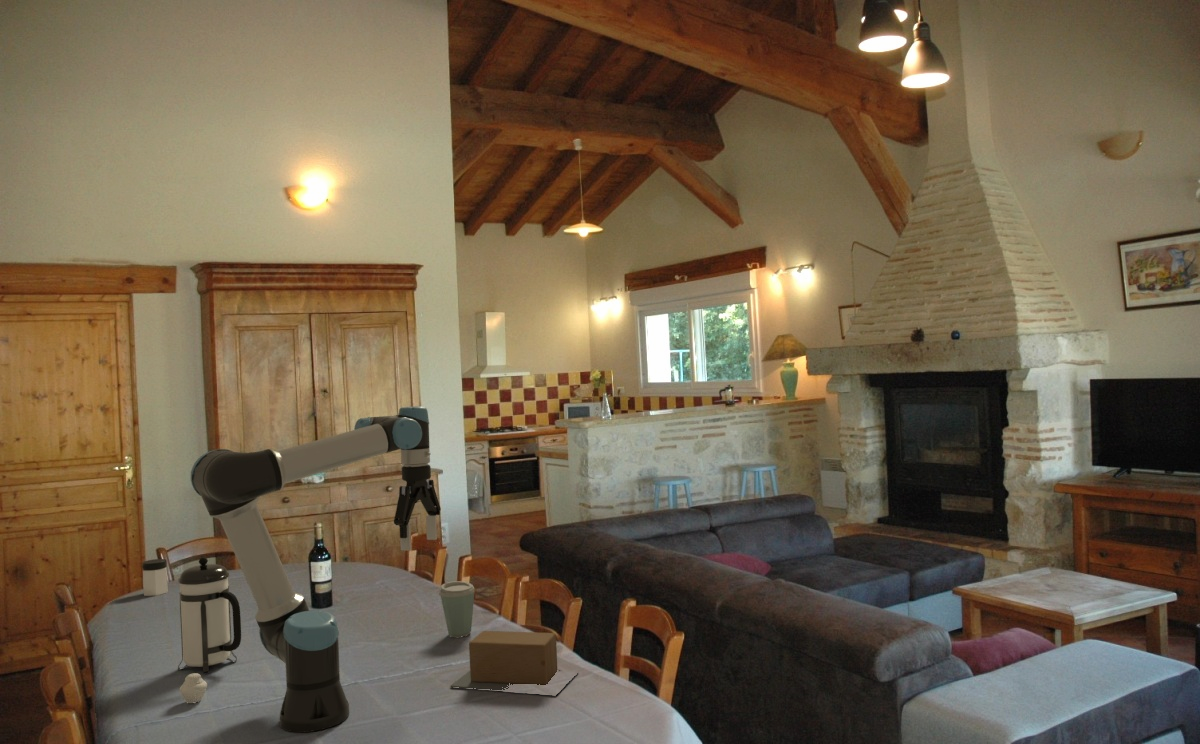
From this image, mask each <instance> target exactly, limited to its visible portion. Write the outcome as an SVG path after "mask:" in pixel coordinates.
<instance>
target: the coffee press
mask: <svg viewBox="0 0 1200 744" xmlns="http://www.w3.org/2000/svg"><path fill="white" fill-rule="evenodd" d="M208 562H209V560H208V558H207V557H204V556H202V557H200V558H199V560H198V564H199V565H196V566H192V567H188V568H186V569H184V570H183V571H182V572H181V574H180V576H179V577H178V580H177V581H178V584H179V588H180V589H179V612H180V614H179V615H180V616H179V617H180V632H181V633H180V636H181V637H180V638H181V639H180V640H181V656H182V657H181V661H180V662H179V664H178V666H177V669H178V670H179V669H180V668H181V667H180V665H181V664H182V663H185V665H184V666H182V668H183V670H184V669H186V667H188V666H189V667H192V668H193V667H195V668H197V667H198V668H201V667H202V674H203V673H206V674H209V673H208V671H209V670H210V666H214V665H218V664H220V663H222V662H225V661H229V662H231V663H232V662H233V661H235V663H236V662H237V660H238V657H237V656H236V655H235V653H234V652H233V651H234V650H237V649H238V648H239V647H240V645H241V641H242V619H241V608H240V602H239V600H238V598H237V597H236V595H235V594H234V593H232V592H231V591H230V585H229V577H230V572H229V571H228V569H227V568H226V567H225V566H223V565H222V564H215V563H211V564H208ZM231 609H232V618H231ZM231 619H232V620H231ZM232 626H233V627H232ZM232 629H233V640H232V637H231V636H232ZM231 655H232V656H233V657H234V658H235V660H232V659H231V658H230V656H231ZM209 672H210V671H209Z"/></svg>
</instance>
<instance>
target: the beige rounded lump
mask: <svg viewBox="0 0 1200 744" xmlns="http://www.w3.org/2000/svg"><path fill="white" fill-rule="evenodd" d="M184 678H185V679H184V681H183V683H182V685H181V686H180V688H179V692H180V694H181V696H182V698H183V699H184V701H185V702H186V703H187V702H188V703H193V702H197V701H200V700H201V701H202V700H203V698H204V697H205V693H206V691H207V688H208V683H207V682H206V681H205V680H204V679H203V678H202V675H201V674H200V673H195V672H194V673H193V672H192V673H190V674H187V676H186V677H184ZM201 701H200V702H201ZM188 703H187V704H188Z"/></svg>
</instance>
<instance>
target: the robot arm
mask: <svg viewBox="0 0 1200 744" xmlns="http://www.w3.org/2000/svg"><path fill="white" fill-rule="evenodd" d="M429 421H430V420H429V411H428V408H427V407H425V406H423V405H422V406H421V405H417V406H404V407H400V408H399V410H398V414H395V415H390V416H389V415H386V416H385V415H384V416H368V417H362V418H359V419H357V420H356V422H355V424H354V429H352V430H348V431H345V432H342V433H338V434H335V435H330V436H328V437H324V438H320V439H317V440H313V441H310V442H309V441H308V442H306V443H303V444H299V445H298V444H297V445H295V446H292V447H288V448H284V449H280V450H277V451H276V450H274V449H271V448H267V449H262V450H259V451H253V452H251V451H250V452H238V451H233V450H230V449H226V448H220V449H219V448H218V449H214V450H210V451H208V452H205V453H204V454H202V455H201V456H199V457H198V458H197V460H196V461H195V462H194V464H193V465H192V468H191V470H190V483H191V486H192V488H193V490H194V491H195V492H196V494H197V495H199V496H200V497H201V499H202V501H203V503H204V506H205V508H206V511H207V512H208V515H209V517H212V518H213V519H217V520H219V521H220V525H221V526H222V529H223V530H224V533H225V535H226V538H227V540H228V542H229V544H230V547H231V548H232V551H233V553H234V555H235V558H236V560H237V562H238V565H239V567H240V570H241V572H242V574H243V576H244V578H245V580H246V584H247V585H248V587H249V590H250V592H251V594H252V596H253V599H254V601H255V603H256V606H257V608H258V610H257V612H256V615H255V620H256V624H257V625H258V628H259V630H258V633H259V638H260V642H261V644H262V645H263V647H264V649H265V651H267V652H268V653H269V654H270V655H272V656H274V657H275V658H277V659H279V660H280V661H282V663H284V665H285V678H286V680H285V681H286V691H285V695H284V698H283V700H282V705H281V708H280V712H279V727H281V729H283V730H284V731H288V732H293V733H307V732H308V733H309V732H316V731H322V730H325V729H330V728H331V727H332V728H333V727H334V726H337V725H338V724H341V723H342V722H344V721H346V720H347V718H349V715H350V703H349V702H348V700H347V697H346V694H345V691H344V688H343V686H342V684H341V680H340V679H341V676H340V671H341V670H340V650H339V649H340V648H339V645H340V644H339V635H340V633H339V632H340V631H339V627H338V620H337V618H336V617H335V616H334V615H333V614H331V613H330V612H328V611H323V610H322V611H320V610H310V609H309V606H308V604H307V602H306V600H305V597H304V595H303V594H301V593H298V592H295V591H294V589H293V586H292V584H291V582H290V580H289V577H288V574H287V572H286V570H285V567H284V566H283V563H282V561H281V559H280V556H279V554H278V551H277V549H276V546H275V544H274V542H273V539H272V537H271V534H270V533H269V529H268V528H267V525H266V523H265V521H264V518H263V516H262V514H261V512H260V509H259V507H258V501H259V499H260V497H264V496H266V495H268V494H271V493H274V492H278V491H281V490H282V489H283V488H284V486H285V485H286V484H290V483H291V482H295V481H299V480H302V479H306V478H308V477H312V476H314V475H317V474H322V473H324V472H328V471H331V470H334V469H338V468H341V467H345V466H347V465H351V464H354V463H358V462H361V461H364V460H367V459H370V458H374V457H377V456H380V455H384V454H387V453H392V452H395V451H397V450H400V462H401V463H400V464H402V465H403V466H402V467H401V479H402V481H404V482H406V486H404V485H403V486H402V485H400V486H399V490H398V492H399V493H398V494H399V496H398V498H397V504H396V509H395V514H394V519H393V524H394V525H395V526H399V545H400V546H399V547H400V551H407V552H408V551H412V534H411V533H412V532H411V524H409V523H410V520H411V517H412V515H413V514H412V513H413V511H414V509H415V505H416V504H417V503H418V502H419V501H420V502H421V504H422V506H423V508H424V510H425V511H426V514H427V515H425V523H426V525H425V526H426V540H427V541H436V540H438V528H437V527H438V525H437V524H438V523H437V516H440V514H441V506H440V502H439V498H438V497H437V496H438V495H437V493H436V492H437V491H436V490H435V485H434V480H433V479H431V478H432V474H431V473H432V472H431V465H430V464H429V463H430V462H431V451H430V422H429Z"/></svg>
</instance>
